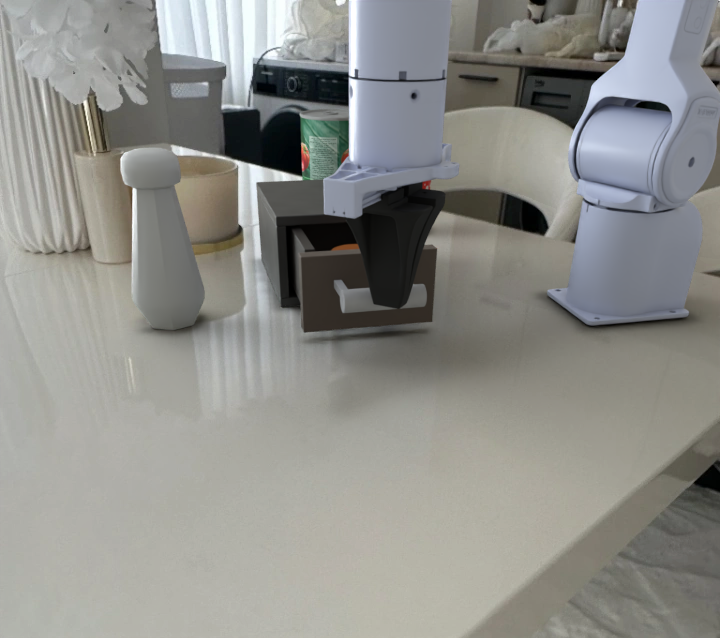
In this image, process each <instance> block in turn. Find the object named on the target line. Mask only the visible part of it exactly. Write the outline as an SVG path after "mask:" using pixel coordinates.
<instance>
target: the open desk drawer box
mask: <svg viewBox="0 0 720 638" xmlns="http://www.w3.org/2000/svg"><path fill="white" fill-rule="evenodd" d="M255 185H256V187H255V188H256V201H257V214H258V228H259V231H258V232H259V243H260V253H261V254H260V258H261V259H260V260H261V263H262V265H263V267H264V270H265V273H266V274H267V277H268V279H269V282H270V284H271V286H272V289H273V291H274V293H275V296H276V298H277V301H278V303H279V305H280V307H281V308H287V307H288V308H289V307H300V301H299V299H298V297H297V295H296V293H295V290H294V288H293V286H292V284H291V282H290V280H289V277H288V256H287V236H286V226H296V225H314V224H332V223H347V221H346V219H345V218H344V217H340V216H332V215H325V214H324V179H321V180H301V179H300V180H297V179H296V180H275V181H274V180H273V181H257V182H255Z"/></svg>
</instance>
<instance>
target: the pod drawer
mask: <svg viewBox="0 0 720 638" xmlns="http://www.w3.org/2000/svg"><path fill="white" fill-rule="evenodd" d="M286 236H287V256H288V277H289V280H290V282H291V284H292V286H293V288H294V290H295V293H296V295H297V297H298V299H299V301H300V306H299V307H300V326H301V329H302V331H303V333H304V334H305V333H317V332H329V331H339V330H341V331H342V330H351V329H362V328H363V329H364V328H376V327H387V326H388V327H389V326H398V325H410V324H411V325H412V324H421V323H423V324H424V323H432V322H433V320H434V319H433V318H434V317H433V316H434V304H435V303H434V302H435V287H436V275H437V274H436V273H437V272H436V271H437V259H438V248H437V247H436V246H435V245H434V244H432V243H431V244H425V245H424V248H423V251H422V254H421V257H420V260H419V264H418V267H417V271H416V275H415V279H414V282H413V286H412V290H411V293H410V296H409V299H408V301H407V304H405V305H404V306H403V307H401V308H400V309H396V308H390V307H385V306H380V305H374V304H373V301H372V297H371V293H370V289H369V284H368V280H367V275H366V271H365V267H364V263H363V259H362V256H361V252H360V249H350V250H334V251H331V250H332V249H333V248H335V247H337V246H341V245H347V244H357V241H356V239H355V237H354V234H353V232H352V230H351V228H350V226H349V224H348V223H332V224H314V225H296V226H286Z"/></svg>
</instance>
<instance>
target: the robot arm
mask: <svg viewBox="0 0 720 638" xmlns="http://www.w3.org/2000/svg"><path fill="white" fill-rule="evenodd" d="M719 1H720V0H638V1H637V5H636V9H635V13H634V16H633V19H632V24H631V28H630V32H629V36H628V40H627V44H626V48H625V52H624V56H622V57H621V59H620V60H619V61H617V63H615V64H614V65H613V66H612V67H611V68H609V69H608V70H607V71H606V72H604V73H603V74H602V75H601V76H600V77H599V78H597V80H594V82H593V83H592V85H591V87H590V91H589V95H588V100H587V103H586V104H585V105H586V106H585V108H584V110H583V112H582V115H581V116H580V118H579V120H578V122H577V124H576V125H575V127H574V130H573V132H572V134H571V137H570V141H569V145H568V152H567V162H568V168H569V173H570V174H571V177H572V178H573V179H574V181H575V182H577V188H576V195H578V196H580V197H583V198H582V202H581V207H580V214H579V219H578V226H577V231H576V236H575V242H574V248H573V254H572V259H571V266H570V271H569V277H568V283H567V287H561V288H550V289H547V291H546V295H547V296H548V297H549V298H551V299H552V300H553V301H554V302H555V303H557V304H559V305H560V306H561V307H562V308H564V309H565V310H566V311H568V312H569V313H571V315H573V316H574V317H576V318H577V319H579V320H580V321H581V322H583V323H584V324H586V325H587V326H603V325H614V324H627V323H637V322H647V321H649V322H650V321H658V320H669V319H670V320H671V319H681V318H682V319H683V318H687V317H689V314H690V311H689V310H688V309H687V308H685V305H686V301H687V297H688V293H689V290H690V286H691V283H692V279H693V275H694V272H695V268H696V265H697V260H698V257H699V253H700V250H701V247H702V241H703V234H704V233H703V232H704V231H703V230H704V229H703V219H702V215H701V212H700V209H698V207H697V206H696V205H695V204H694V203H693V202H692V201H690V199H691V198H692V197H694V196H695V194H697V192H699V190H700V189H701V188H702V187H703V186H704V184H705V182H706V181H707V179H708V177H709V175H710V173H711V171H712V169H713V167H714V166H713V165H714V163H715V160H716V156H717V155H716V154H717V147H718V140H717V138H718V130H719V129H718V128H719V122H720V90H719V89H718V87H717V86H716V85H715V83H713V81H712V80H711V78H710V76H709V75H708V74H707V73H706V71H705V70H704V68H703V67H702V66H701V62H702V57H703V54H704V51H705V48H706V45H707V42H708V41H707V40H708V38H709V34H710V31H711V28H712V25H713V21H714V18H715V14H716V11H717V8H718V4H719ZM452 6H453V0H348V110H349V156H348V157H347V158H346V159H345V161H344V162H343V163H342V164H341V166H340V167H339V168H338V170H337V171H336V172H335V173H334V174H333V175H331V176H329V177H327V178H324V214H325V215H332V216H340V217H344V218H345V219H346V221H347V223H348V224H349V226H350V228H351V230H352V232H353V234H354V237H355V239H356V241H357V244H358V247H359V249H360V252H361V256H362V259H363V263H364V267H365V271H366V275H367V280H368V284H369V289H370V293H371V297H372V301H373V304H374V305H380V306H385V307H390V308H396V309H400V308H401V307H403V306H404V305H405V304H407V301H408V299H409V296H410V293H411V290H412V286H413V282H414V279H415V275H416V271H417V267H418V264H419V260H420V257H421V254H422V251H423V248H424V245H426V242H427V240H428V237H429V235H430V232H431V230H432V229H433V226H434V224H435V222H436V220H437V219H438V216H439V215H440V213H441V212H442V210H443V208H444V206H445V204H446V195H447V193H446V192H445V191H442V190H437V189H431V188H430V189H422V187H423V182H425V181H430V180H431V181H434V180H436V179H437V180H451V179H454V178H455V177H458V176H459V174H460V165H461V164H460V163H459V162H457V161H452V148H453V144H452V143H444V142H443V140H444V126H445V112H446V97H447V85H448V83H447V82H448V78H447V77H448V66H449V52H450V38H451V37H450V35H451V25H452V24H451V23H452V8H453V7H452ZM641 102H654V103H661V104H663V105H665V106H667V107H668V109H669V111H666V110H660V109H659V110H658V109H650V108H643V107H637V106H636V105H638V104H640V103H641ZM635 106H636V107H635Z"/></svg>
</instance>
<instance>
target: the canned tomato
mask: <svg viewBox="0 0 720 638" xmlns="http://www.w3.org/2000/svg"><path fill="white" fill-rule="evenodd" d="M299 117H300V145H301V146H300V147H301V152H300V153H301V174H302V178H301V179H302V180H321V179H324V178H327V177H329V176H331V175H333V174H334V173H335V172H336V171H337V170H338V168H339V167H340V166H341V164H342V163H343V162H344V161H345V159H346V158H347V157H348V156H349V108H348V109H347V108H316V109H307V110H303V111H300V112H299Z"/></svg>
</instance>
